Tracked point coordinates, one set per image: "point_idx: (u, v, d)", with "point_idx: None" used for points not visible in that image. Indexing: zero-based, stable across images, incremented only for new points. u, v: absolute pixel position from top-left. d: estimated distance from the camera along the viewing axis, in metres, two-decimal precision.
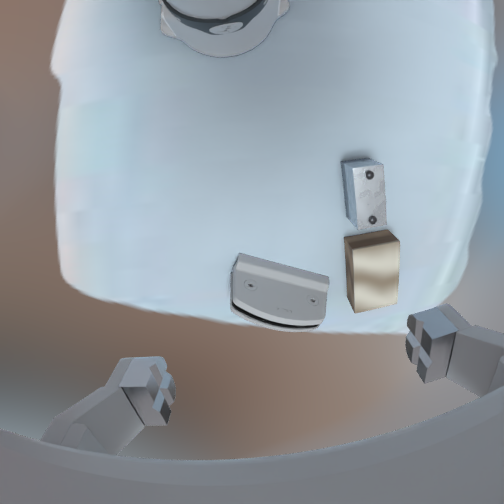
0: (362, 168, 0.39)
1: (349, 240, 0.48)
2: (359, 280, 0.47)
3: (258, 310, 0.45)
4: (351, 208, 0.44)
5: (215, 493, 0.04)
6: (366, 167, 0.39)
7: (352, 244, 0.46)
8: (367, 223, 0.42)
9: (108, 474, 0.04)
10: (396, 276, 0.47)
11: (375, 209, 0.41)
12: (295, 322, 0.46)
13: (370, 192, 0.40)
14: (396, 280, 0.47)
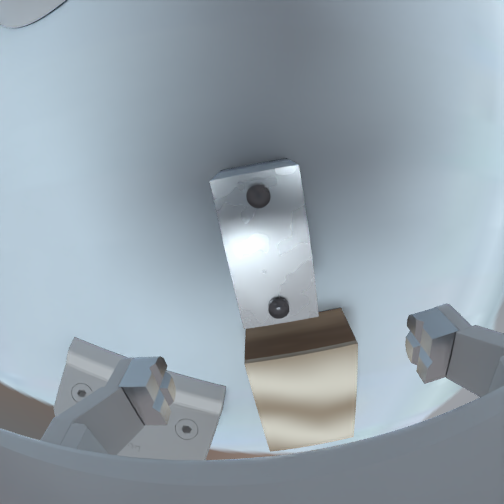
0: (237, 179, 0.15)
1: (251, 333, 0.24)
2: (269, 411, 0.22)
3: None
4: None
5: (215, 493, 0.04)
6: (249, 176, 0.15)
7: (252, 345, 0.22)
8: (266, 314, 0.18)
9: (108, 474, 0.04)
10: (350, 402, 0.22)
11: (284, 283, 0.17)
12: None
13: (268, 241, 0.17)
14: (351, 407, 0.22)
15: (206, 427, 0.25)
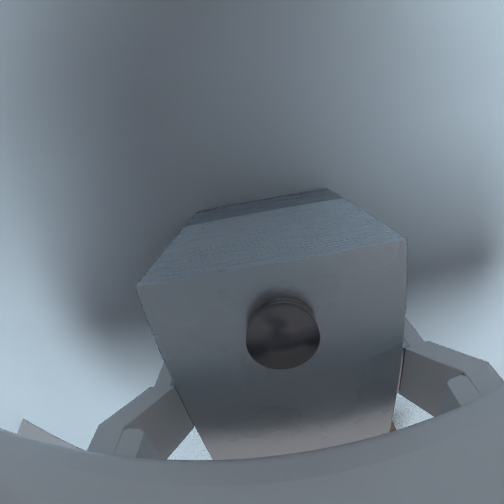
0: (218, 285, 0.05)
1: None
2: None
3: None
4: None
5: (215, 493, 0.04)
6: (254, 275, 0.05)
7: None
8: None
9: (108, 474, 0.04)
10: None
11: None
12: None
13: (300, 419, 0.06)
14: None
15: None
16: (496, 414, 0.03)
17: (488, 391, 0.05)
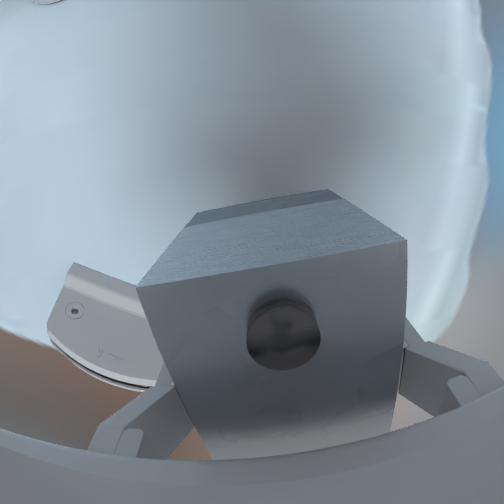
0: (218, 286, 0.05)
1: None
2: None
3: (70, 350, 0.24)
4: None
5: (215, 493, 0.04)
6: (254, 276, 0.05)
7: None
8: None
9: (108, 474, 0.04)
10: None
11: None
12: (126, 379, 0.25)
13: (299, 419, 0.06)
14: None
15: None
16: (496, 414, 0.03)
17: (488, 391, 0.05)
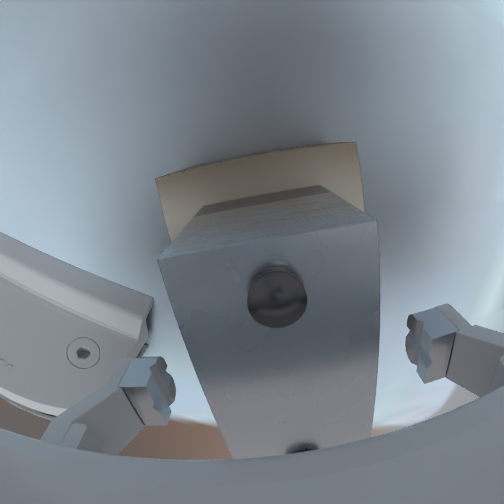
0: (225, 257, 0.06)
1: (185, 169, 0.15)
2: None
3: None
4: None
5: (215, 493, 0.04)
6: (254, 249, 0.06)
7: (180, 171, 0.13)
8: None
9: (108, 474, 0.04)
10: None
11: (317, 434, 0.08)
12: (16, 398, 0.12)
13: (294, 380, 0.07)
14: None
15: (113, 355, 0.16)
16: (496, 414, 0.03)
17: None
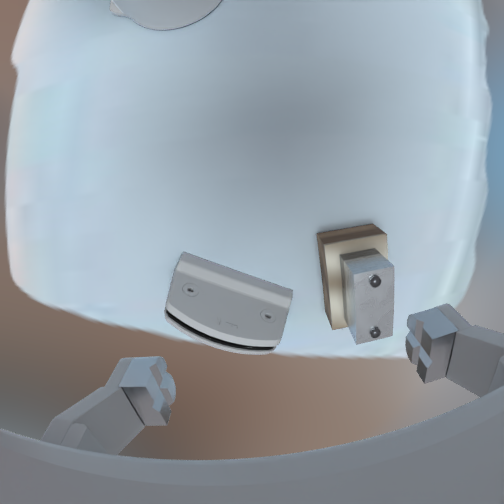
0: (366, 273, 0.30)
1: (322, 236, 0.39)
2: (335, 286, 0.37)
3: (193, 320, 0.35)
4: (350, 316, 0.35)
5: (215, 493, 0.04)
6: (372, 272, 0.30)
7: (325, 239, 0.37)
8: (368, 336, 0.33)
9: (108, 474, 0.04)
10: None
11: (379, 320, 0.32)
12: (241, 340, 0.36)
13: (375, 301, 0.31)
14: None
15: (281, 316, 0.40)
16: (496, 414, 0.03)
17: None
